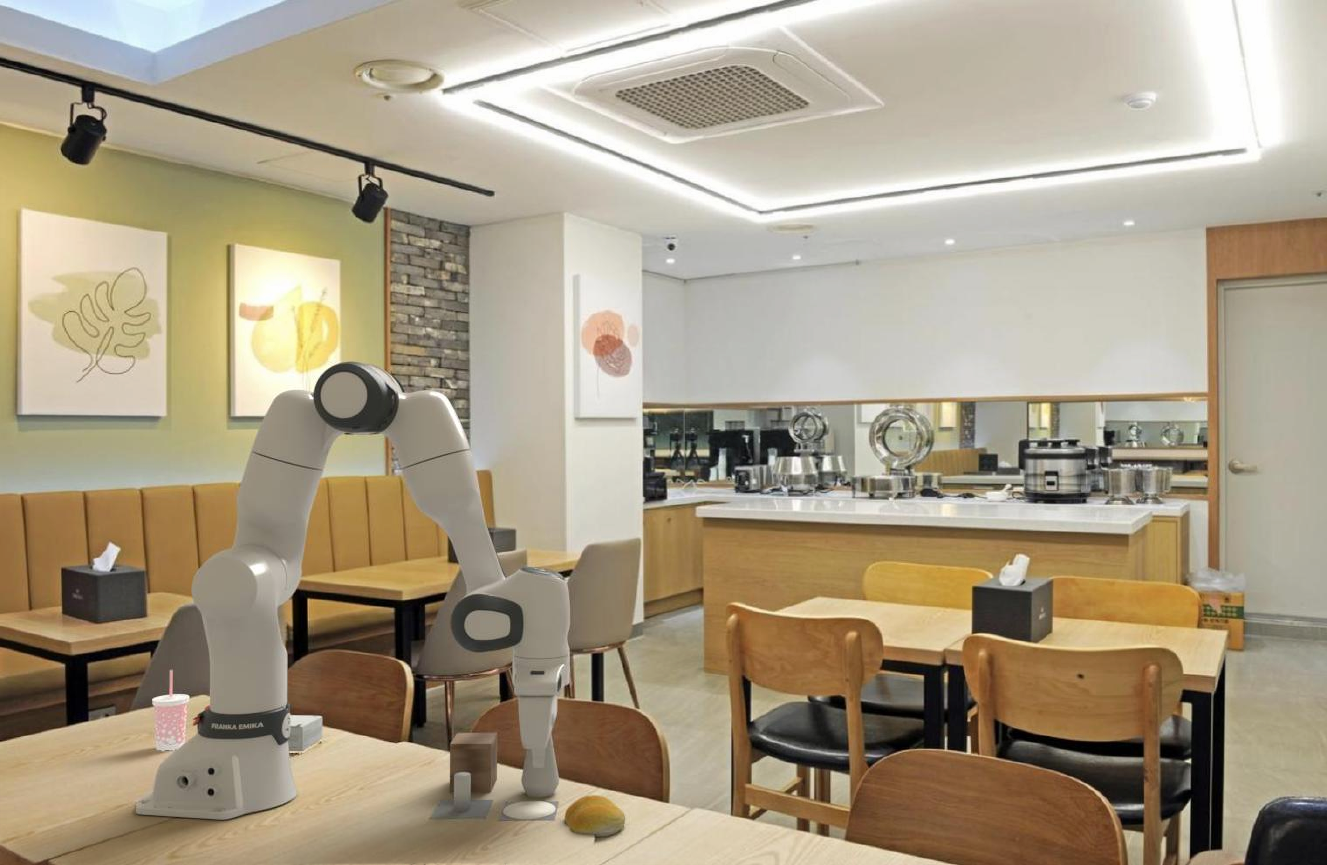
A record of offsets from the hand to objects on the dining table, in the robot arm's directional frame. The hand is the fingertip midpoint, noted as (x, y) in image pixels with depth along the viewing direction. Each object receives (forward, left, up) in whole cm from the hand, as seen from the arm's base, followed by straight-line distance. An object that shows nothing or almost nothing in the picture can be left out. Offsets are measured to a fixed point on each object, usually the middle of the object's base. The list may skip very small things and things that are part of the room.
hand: (540, 762), depth 157 cm
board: (-11, -7, -5) cm, 14 cm away
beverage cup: (-70, +29, -6) cm, 76 cm away
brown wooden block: (-11, +4, -5) cm, 13 cm away
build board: (-1, -8, -5) cm, 10 cm away
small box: (-48, +29, -6) cm, 56 cm away
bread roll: (+9, -13, -6) cm, 17 cm away
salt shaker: (0, 0, -5) cm, 5 cm away
